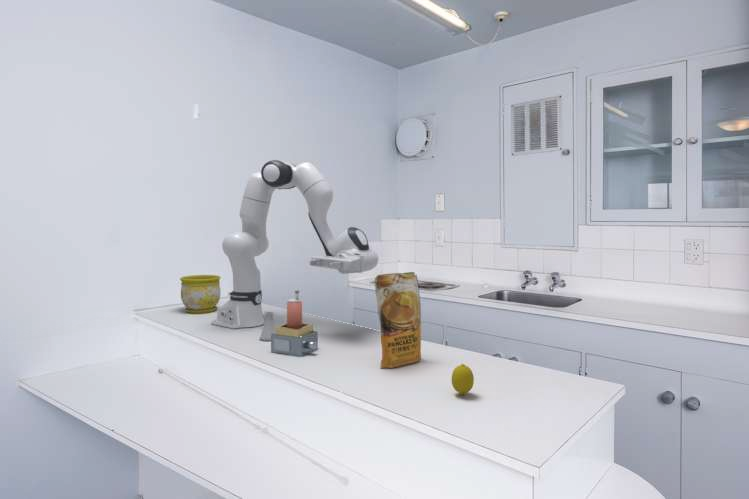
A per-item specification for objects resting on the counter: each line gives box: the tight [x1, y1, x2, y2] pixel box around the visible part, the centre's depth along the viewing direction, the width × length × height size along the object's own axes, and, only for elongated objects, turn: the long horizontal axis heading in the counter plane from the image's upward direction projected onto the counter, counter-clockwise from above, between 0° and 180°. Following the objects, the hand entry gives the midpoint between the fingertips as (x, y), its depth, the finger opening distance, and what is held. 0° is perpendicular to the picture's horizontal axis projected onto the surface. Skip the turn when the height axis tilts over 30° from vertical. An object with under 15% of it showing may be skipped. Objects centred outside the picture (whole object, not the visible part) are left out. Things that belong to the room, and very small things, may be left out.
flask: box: [258, 311, 276, 342], centre depth 173 cm, size 7×7×10 cm
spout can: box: [286, 289, 303, 329], centre depth 158 cm, size 5×5×14 cm
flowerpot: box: [179, 274, 221, 315], centre depth 224 cm, size 18×18×16 cm
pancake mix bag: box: [374, 271, 422, 369], centre depth 145 cm, size 7×19×28 cm, turn 127°
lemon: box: [451, 363, 475, 396], centre depth 119 cm, size 6×6×8 cm
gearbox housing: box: [270, 322, 319, 357], centre depth 158 cm, size 15×10×8 cm
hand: (320, 264), depth 166 cm, fingers open, 8 cm apart
